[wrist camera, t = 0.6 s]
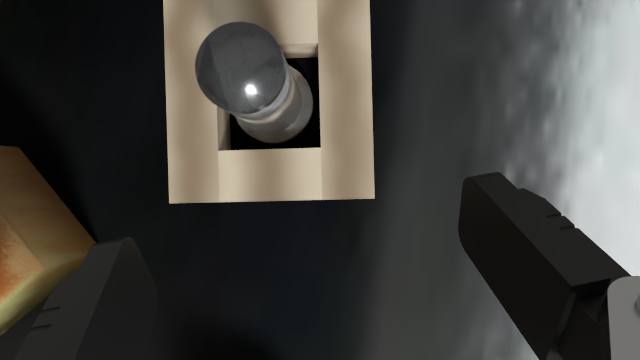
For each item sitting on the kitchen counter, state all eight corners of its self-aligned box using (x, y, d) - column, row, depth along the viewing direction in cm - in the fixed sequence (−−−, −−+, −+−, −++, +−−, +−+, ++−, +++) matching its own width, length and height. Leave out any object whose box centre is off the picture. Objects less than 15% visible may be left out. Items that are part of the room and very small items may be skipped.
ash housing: (366, 7, 33) (369, -13, 30) (371, 196, 33) (374, 198, 30) (181, 16, 34) (163, -2, 31) (186, 200, 34) (169, 203, 31)
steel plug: (312, 65, 34) (296, 4, 22) (314, 142, 34) (299, 124, 22) (236, 68, 34) (179, 10, 22) (238, 145, 34) (182, 128, 22)
